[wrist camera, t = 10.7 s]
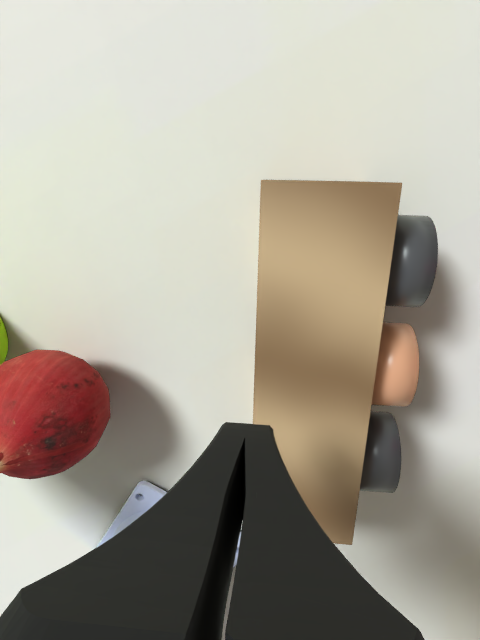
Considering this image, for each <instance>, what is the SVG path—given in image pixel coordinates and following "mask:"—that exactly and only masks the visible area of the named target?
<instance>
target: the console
mask: <svg viewBox="0 0 480 640" xmlns="http://www.w3.org/2000/svg"><path fill="white" fill-rule="evenodd" d="M401 188H402V183H389V182H349V181H299V180H261V195H260V225H259V255H258V285H257V315H256V345H255V375H254V405H253V424H259V425H270V426H271V427H272V429H273V432H274V437H275V441H276V444H277V447H278V450H279V452H280V455H281V457H282V460H283V462H284V464H285V466H286V468H287V471H288V473H289V475H290V477H291V479H292V481H293V483H294V485H295V487H296V488H297V490H298V492H299V494H300V495H301V497H302V499H303V501H304V502H305V504H306V505H307V507H308V509H309V510H310V512H311V513H312V515H313V516H314V518H315V519H316V521H317V522H318V523H319V525H320V526H321V528H322V529H323V530H324V532H325V533H326V534H327V536H328V537H329V538H330V540H331V541H332V542H333V543H337V544H348V545H352V541H353V534H354V527H355V519H356V512H357V505H358V498H359V491H360V483H361V476H362V469H363V462H364V455H365V447H366V440H367V433H368V426H369V419H370V411H371V404H372V397H373V390H374V383H375V375H376V368H377V361H378V354H379V347H380V339H381V332H382V325H383V318H384V311H385V303H386V296H387V289H388V282H389V275H390V267H391V260H392V253H393V246H394V239H395V231H396V224H397V217H398V210H399V203H400V195H401Z"/></svg>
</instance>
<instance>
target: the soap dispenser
mask: <svg viewBox="0 0 480 640" xmlns="http://www.w3.org/2000/svg"><path fill="white" fill-rule="evenodd" d="M7 351H8V337H7V332H6V329H5V326H4V323H3V321H2V319H1V317H0V365H1V364H2V363H3V362H4V361H5V358H6V355H7Z"/></svg>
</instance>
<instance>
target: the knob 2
mask: <svg viewBox="0 0 480 640" xmlns="http://www.w3.org/2000/svg"><path fill="white" fill-rule="evenodd" d="M437 257H438V242H437V233H436V229H435V225H434V223H433V221H432V219H431V218H430V217H428V216H411V215H398V217H397V224H396V231H395V239H394V246H393V253H392V260H391V267H390V275H389V282H388V289H387V296H386V303H385V306H403V307H419V306H421V305H422V304H423V303H424V302H425V301H426V299H427V298H428V296H429V294H430V291H431V288H432V285H433V282H434V278H435V273H436V267H437Z"/></svg>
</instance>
